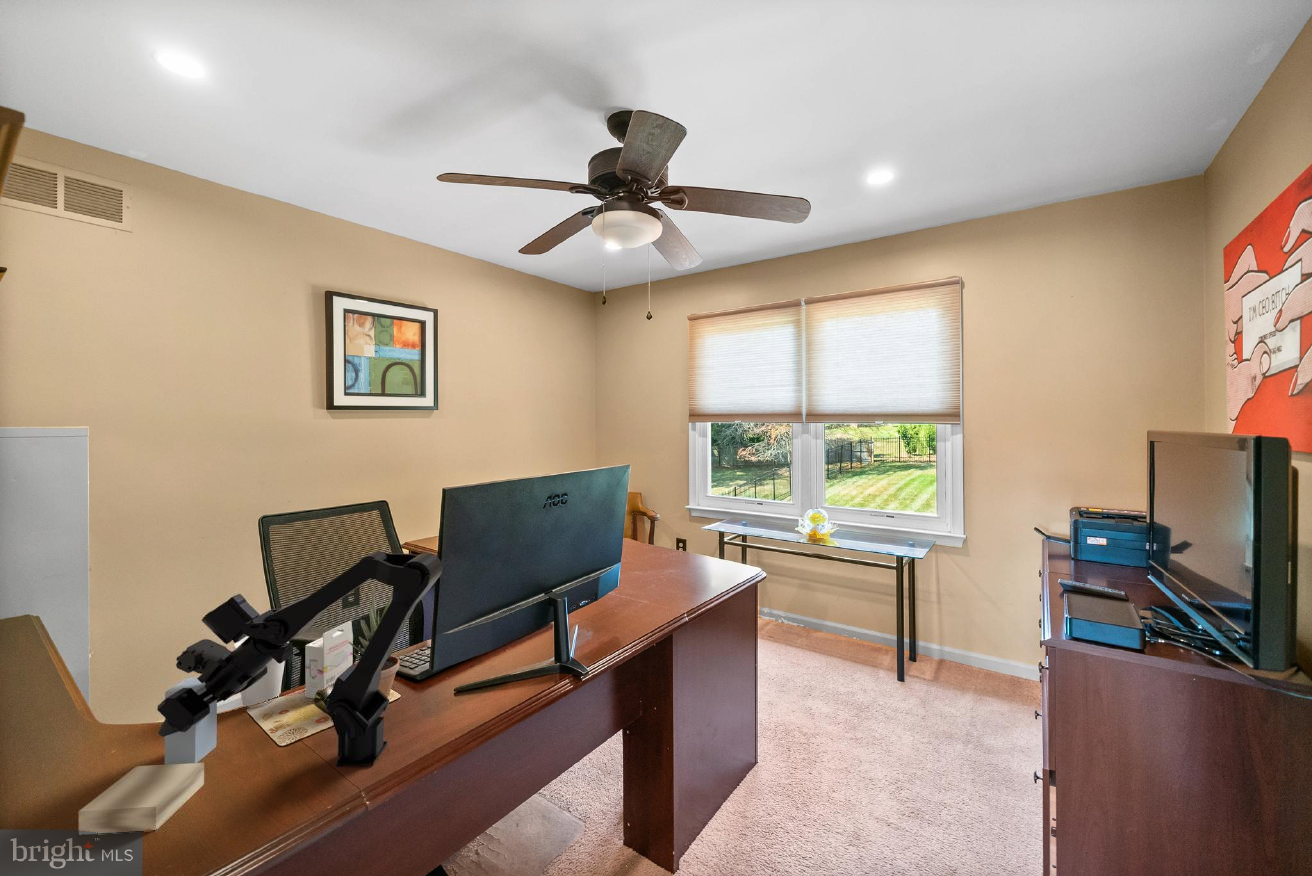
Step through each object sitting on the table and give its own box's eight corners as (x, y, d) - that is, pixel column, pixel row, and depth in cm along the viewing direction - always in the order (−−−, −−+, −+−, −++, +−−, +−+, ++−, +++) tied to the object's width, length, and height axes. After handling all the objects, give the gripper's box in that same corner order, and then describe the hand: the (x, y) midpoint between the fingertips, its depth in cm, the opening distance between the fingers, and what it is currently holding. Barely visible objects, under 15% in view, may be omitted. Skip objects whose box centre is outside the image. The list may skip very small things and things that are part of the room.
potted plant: (396, 681, 123) (398, 577, 123) (401, 700, 115) (403, 589, 115) (346, 691, 118) (348, 583, 117) (348, 712, 110) (350, 596, 109)
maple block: (203, 785, 88) (204, 762, 87) (155, 832, 78) (155, 806, 78) (136, 789, 86) (136, 766, 86) (78, 837, 76) (78, 811, 76)
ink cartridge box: (334, 679, 123) (335, 617, 123) (353, 681, 122) (354, 619, 122) (303, 697, 115) (304, 631, 114) (322, 700, 114) (324, 634, 113)
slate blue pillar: (216, 746, 97) (217, 677, 97) (195, 763, 92) (195, 691, 92) (187, 746, 97) (188, 677, 97) (164, 764, 92) (165, 691, 92)
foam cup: (296, 687, 119) (297, 631, 118) (272, 709, 110) (273, 648, 109) (249, 689, 117) (250, 632, 117) (222, 712, 108) (223, 650, 108)
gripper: (252, 609, 103) (193, 663, 103) (170, 650, 85) (97, 717, 85) (293, 649, 104) (234, 703, 104) (220, 699, 85) (148, 765, 85)
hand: (183, 719), depth 94 cm, fingers open, 9 cm apart
